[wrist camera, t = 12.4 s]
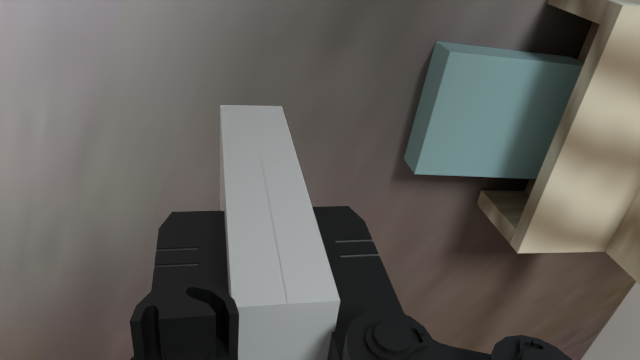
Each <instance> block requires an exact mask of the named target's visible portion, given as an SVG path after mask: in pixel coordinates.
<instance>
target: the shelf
mask: <svg viewBox="0 0 640 360" xmlns="http://www.w3.org/2000/svg"><path fill="white" fill-rule="evenodd" d="M547 4H549V5H552V6H554V7H557V8H560V9H562V10H565V11H567V12H570V13H572V14H575V15H577V16H580V17H582V18H585V19H587V20H590V21H593V22H592V24H591V27H590V29H589V32H588V34H587V37H586V39H585V42H584V44H583V47H582V49H581V52H580V54H579V57H578V59H577V60H578V61H580V62H582V63H584V65H583V67H582V70H581V72H580V75H579V77H578V80H577V82H576V84H575V87H574V89H573V92H572V94H571V97H570V99H569V101H568V104H567V106H566V109H565V111H564V114H563V116H562V118H561V121H560V123H559V126H558V128H557V131H556V133H555V136H554V138H553V140H552V143H551V145H550V148H549V150H548V153H547V155H546V157H545V160H544V162H543V165H542V167H541V170H540V172H539V174H538V177H537V179H529V181H528V183H527V186H526V188H525V191H503V190H481V193H480V196H479V199H478V201H477V205H478V206H479V207H480V209H481V210H482V211H483V212H484V213H485V215H486V216H487V217H488V218H489V219H490V221H491V222H492V223H493V224H494V226H495V227H496V228H497V229H498V230H499V232H500V233H501V234H502V235H503V236H504V238H505V239H506V240H507V241H508V242H509V244H510V245H511V246H512V247H513V248H514V250H515V251H516V252H517V253H559V252H606V253H607V254H608V255H609V256H610V257H611V258H612V259H613V260H614V261H615V262H617V263H618V264H619V265H620V266H621V267H622V268H623V269H624V270H625V271H626V272H627V273H628V274H629V275H630V276H631V277H632V278H633V279H635V280H636V281H637V282H638V283H639V284H640V0H548V3H547Z"/></svg>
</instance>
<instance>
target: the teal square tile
mask: <svg viewBox="0 0 640 360" xmlns="http://www.w3.org/2000/svg"><path fill="white" fill-rule="evenodd" d="M583 65H584V63H582V62H580V61H578V60H576V59H574V58H572V57H569V56H560V55H551V54H542V53H534V52H525V51H516V50H508V49H499V48H490V47H482V46H473V45H464V44H456V43H447V42H438V41H436V43H435V46H434V50H433V54H432V57H431V61H430V65H429V68H428V72H427V75H426V79H425V83H424V86H423V90H422V94H421V97H420V101H419V105H418V108H417V112H416V116H415V119H414V123H413V126H412V130H411V134H410V137H409V141H408V145H407V148H406V152H405V156H404V160H405V161H406V163H407V164H408V166H409V167H410V169H411V170H412V171H413V173H414V174H423V175H447V176H472V177H497V178H522V179H537V177H538V174H539V172H540V170H541V167H542V165H543V162H544V160H545V157H546V155H547V153H548V150H549V148H550V145H551V143H552V140H553V138H554V136H555V133H556V131H557V128H558V126H559V123H560V121H561V118H562V116H563V114H564V111H565V109H566V106H567V104H568V101H569V99H570V97H571V94H572V92H573V89H574V87H575V84H576V82H577V80H578V77H579V75H580V72H581V70H582V67H583Z"/></svg>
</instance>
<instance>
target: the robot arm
mask: <svg viewBox="0 0 640 360" xmlns="http://www.w3.org/2000/svg"><path fill="white" fill-rule="evenodd" d="M130 326H131V334H132V342H133V349H134V356H133V357H132V358H131V360H572V359H570V358H569V357H568V356H567V355H565V354H564V353H563V352H562V351H560V350H559V349H558V348H556V347H555V346H553V345H551V344H549V343H547V342H544V341H542V340H540V339H538V338H533V337H528V336H523V335H518V336H510V337H505V338H504V339H502V340H501V341H499V342H498V343H496V344H495V346H494V349H493V351H492V353H491V354H486V353H481V352H476V351H471V350H466V349H461V348H456V347H452V346H448V345H445V344H441V343H439V342H437V341H435V340H433V339H432V337H431V336H430V335H429V333H428V332H427V330H426V329H425V327H424V326H422V325H421V324H420V323H418V322H417V321H416V320H414V319H413V318H411V317H410V316H407V315H405V314H404V312H403V310H402V308H401V305H400V303H399V301H398V298H397V296H396V294H395V291H394V289H393V287H392V284H391V282H390V280H389V277H388V275H387V273H386V270H385V268H384V266H383V263H382V261H381V259H380V256H379V257H378V252H377V249H376V247H375V245H374V242H372V238H371V235H370V233H369V231H368V228H367V226H366V224H365V221H364V220H363V219H362V218H361V217H359V216H358V215H357V214H356V213H355V212H354V211H353V210H352V209H351V208H350V207H349V206H336V207H312V205H311V201H310V198H309V195H308V191H307V188H306V185H305V181H304V178H303V175H302V171H301V168H300V165H299V161H298V158H297V155H296V151H295V148H294V145H293V141H292V138H291V135H290V131H289V128H288V125H287V121H286V118H285V115H284V111H283V108H282V106H249V105H220V211H193V212H172V213H171V214H170V215H169V217H168V218H167V219H166V220H165V222H164V223H163V224H162V226H161V227H160V228H159V232H158V240H157V252H156V257H155V269H154V274H153V282H152V290H151V292H150V293H149V294H148V295H147V296H146V297H145V298H144V299H143V300H142V301H141V302H140V303H139V304H138V305H137V306H136V308H135V310H134V313H133V315H132V317H131V320H130Z"/></svg>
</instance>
